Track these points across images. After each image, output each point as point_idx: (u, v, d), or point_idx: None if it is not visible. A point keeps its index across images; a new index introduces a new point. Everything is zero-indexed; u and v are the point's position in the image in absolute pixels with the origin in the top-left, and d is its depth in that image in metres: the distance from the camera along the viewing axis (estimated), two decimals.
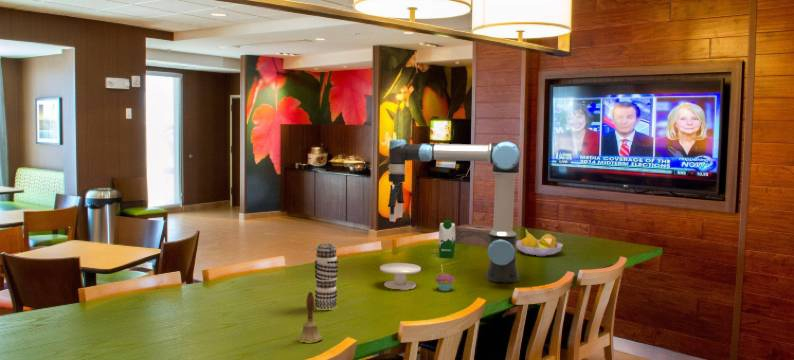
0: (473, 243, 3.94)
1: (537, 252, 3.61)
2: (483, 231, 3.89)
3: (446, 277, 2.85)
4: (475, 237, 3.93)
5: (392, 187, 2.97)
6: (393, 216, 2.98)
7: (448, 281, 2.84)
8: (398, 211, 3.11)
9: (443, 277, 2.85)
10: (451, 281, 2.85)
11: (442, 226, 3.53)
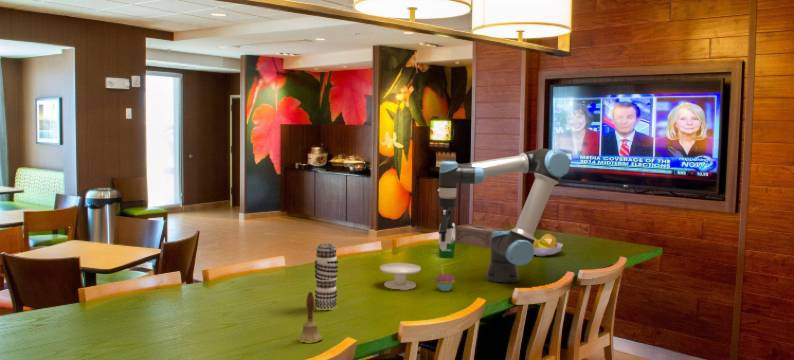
0: (472, 243, 3.94)
1: (537, 252, 3.61)
2: (481, 231, 3.89)
3: (446, 277, 2.85)
4: (473, 236, 3.93)
5: (443, 213, 2.79)
6: (444, 243, 2.80)
7: (448, 281, 2.84)
8: (447, 236, 2.93)
9: (443, 277, 2.85)
10: (451, 281, 2.85)
11: None
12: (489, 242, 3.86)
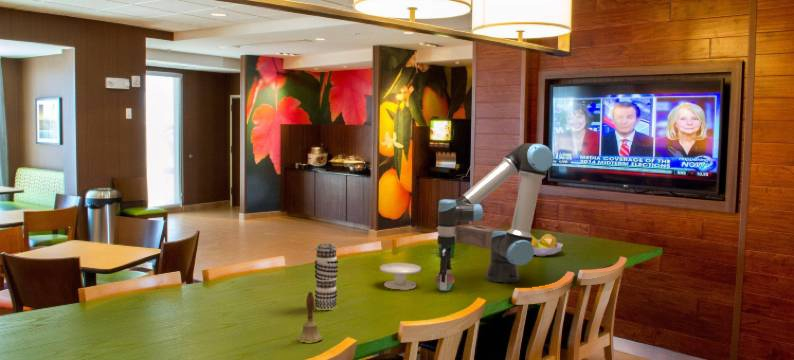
0: (470, 242, 3.95)
1: (537, 252, 3.61)
2: (478, 231, 3.90)
3: None
4: (472, 236, 3.94)
5: (442, 254, 2.81)
6: (444, 284, 2.84)
7: (448, 281, 2.84)
8: None
9: None
10: (451, 281, 2.85)
11: None
12: (485, 242, 3.85)
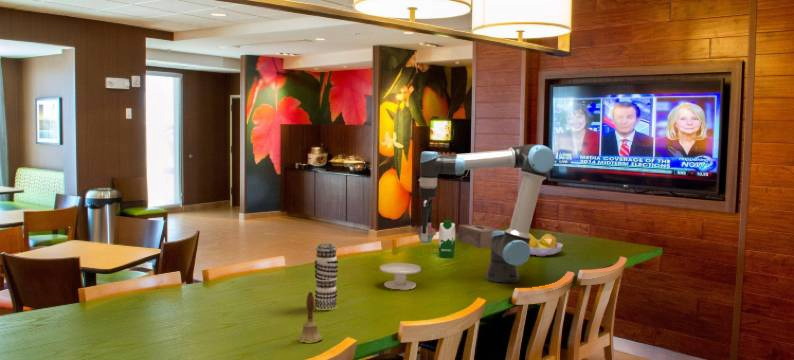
0: (468, 242, 3.97)
1: (537, 252, 3.61)
2: (474, 231, 3.90)
3: None
4: (470, 236, 3.95)
5: (424, 205, 2.81)
6: (425, 235, 2.83)
7: (429, 232, 2.84)
8: None
9: None
10: (432, 233, 2.85)
11: (442, 226, 3.53)
12: (480, 242, 3.85)
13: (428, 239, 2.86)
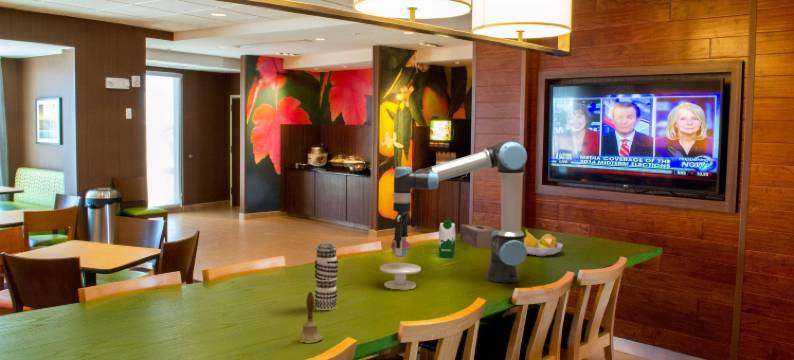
0: (468, 242, 3.98)
1: (537, 252, 3.61)
2: (472, 230, 3.91)
3: None
4: (469, 236, 3.96)
5: (397, 220, 2.84)
6: (399, 250, 2.87)
7: (403, 247, 2.87)
8: None
9: None
10: (406, 247, 2.88)
11: (442, 226, 3.54)
12: (476, 242, 3.86)
13: (402, 253, 2.89)
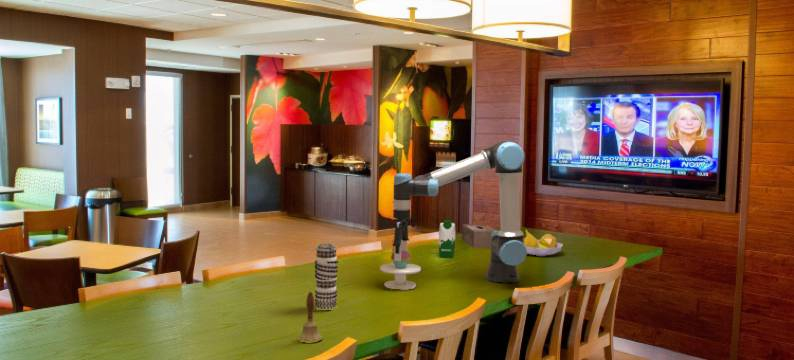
0: (467, 241, 3.99)
1: (537, 252, 3.61)
2: (470, 230, 3.92)
3: (401, 255, 2.88)
4: (468, 235, 3.97)
5: (397, 225, 2.84)
6: (398, 255, 2.85)
7: (403, 259, 2.88)
8: (402, 248, 2.97)
9: None
10: (406, 258, 2.88)
11: (442, 226, 3.54)
12: (473, 242, 3.86)
13: (402, 265, 2.89)
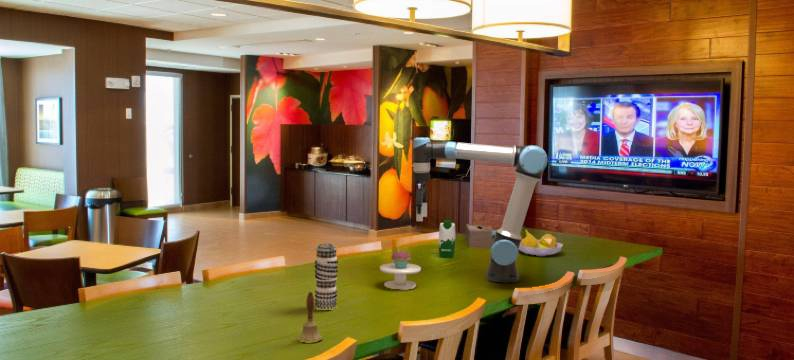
0: (467, 241, 4.00)
1: (537, 252, 3.61)
2: (468, 230, 3.93)
3: (401, 254, 2.89)
4: (467, 235, 3.98)
5: (418, 186, 2.91)
6: (420, 216, 2.92)
7: (403, 258, 2.88)
8: (422, 210, 3.05)
9: (398, 254, 2.89)
10: (406, 258, 2.89)
11: (442, 226, 3.53)
12: (469, 241, 3.87)
13: (402, 265, 2.89)
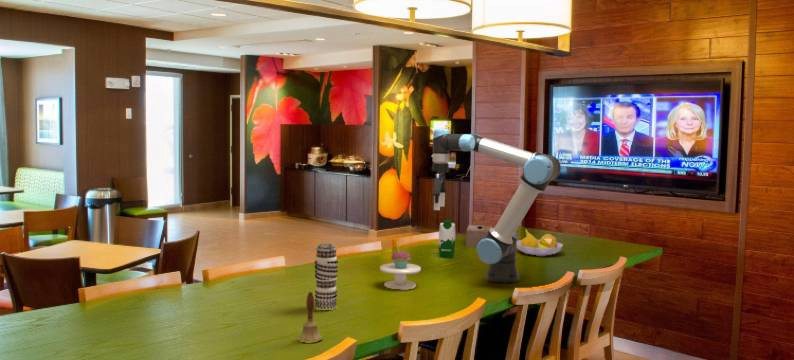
0: None
1: (537, 252, 3.61)
2: (467, 229, 3.94)
3: (401, 254, 2.89)
4: None
5: (437, 176, 3.01)
6: (437, 205, 3.01)
7: (403, 258, 2.88)
8: (440, 200, 3.15)
9: (398, 254, 2.89)
10: (406, 258, 2.89)
11: (442, 226, 3.53)
12: (466, 241, 3.89)
13: (402, 265, 2.89)
